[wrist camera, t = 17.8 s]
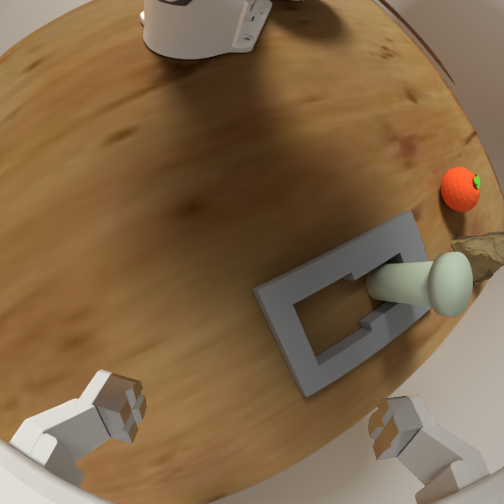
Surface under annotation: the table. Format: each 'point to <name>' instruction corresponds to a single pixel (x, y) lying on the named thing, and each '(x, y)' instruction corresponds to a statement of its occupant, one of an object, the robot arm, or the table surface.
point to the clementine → (460, 189)
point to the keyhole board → (325, 273)
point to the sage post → (425, 283)
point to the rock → (482, 253)
